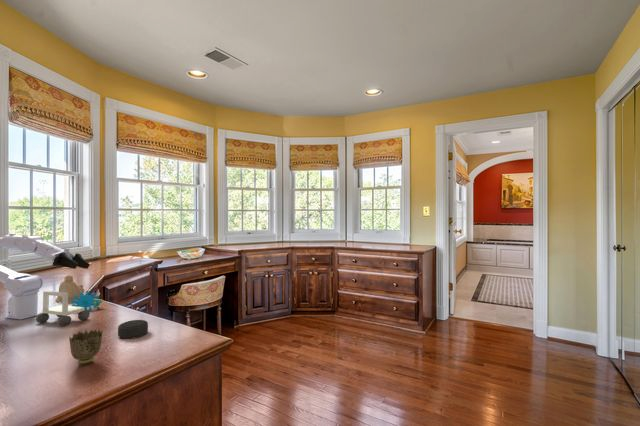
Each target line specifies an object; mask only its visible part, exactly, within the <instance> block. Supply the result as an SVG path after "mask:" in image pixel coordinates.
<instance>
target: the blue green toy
mask: <svg viewBox="0 0 640 426" xmlns="http://www.w3.org/2000/svg"><path fill="white" fill-rule="evenodd" d="M83 294H84V293H83V292H80V293H79V295H80V296H81V297H80V298H78V296H77V295H75V296H74V299H77V301H75V300H72V301H71V302H70V303H71V306H75V307H84V310H86V311H89V312H92V310H93V308H94V309H96V308H99V306H100V305H101V303H103V302H104V301H103V300H104V299H102V298H101V299H99V298H100V297H99V295H96V292H92V293H91V294H90V291H88V290H86V292H85V294H84V296H82V295H83ZM92 307H93V308H92ZM87 308H88V309H87Z"/></svg>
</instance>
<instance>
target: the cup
mask: <svg viewBox="0 0 640 426" xmlns="http://www.w3.org/2000/svg"><path fill="white" fill-rule="evenodd" d="M103 333H104V332H103V330H100V329H98V330H96V329H94V330H93V329H91V330H90V331H89V332H88V331H87V330H85V331H84V332H82V331H78V332H77V333H73V334H72V337H71V336H69V337H68V340H69V347H70V353H71V356H72V357H73V359H75V360H77V364H78V365H79V366H87V365H90V364H92V363H93V362H94V360H95V356H96V355H98V353H99V352H100V349H101V346H102V338H103Z"/></svg>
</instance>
